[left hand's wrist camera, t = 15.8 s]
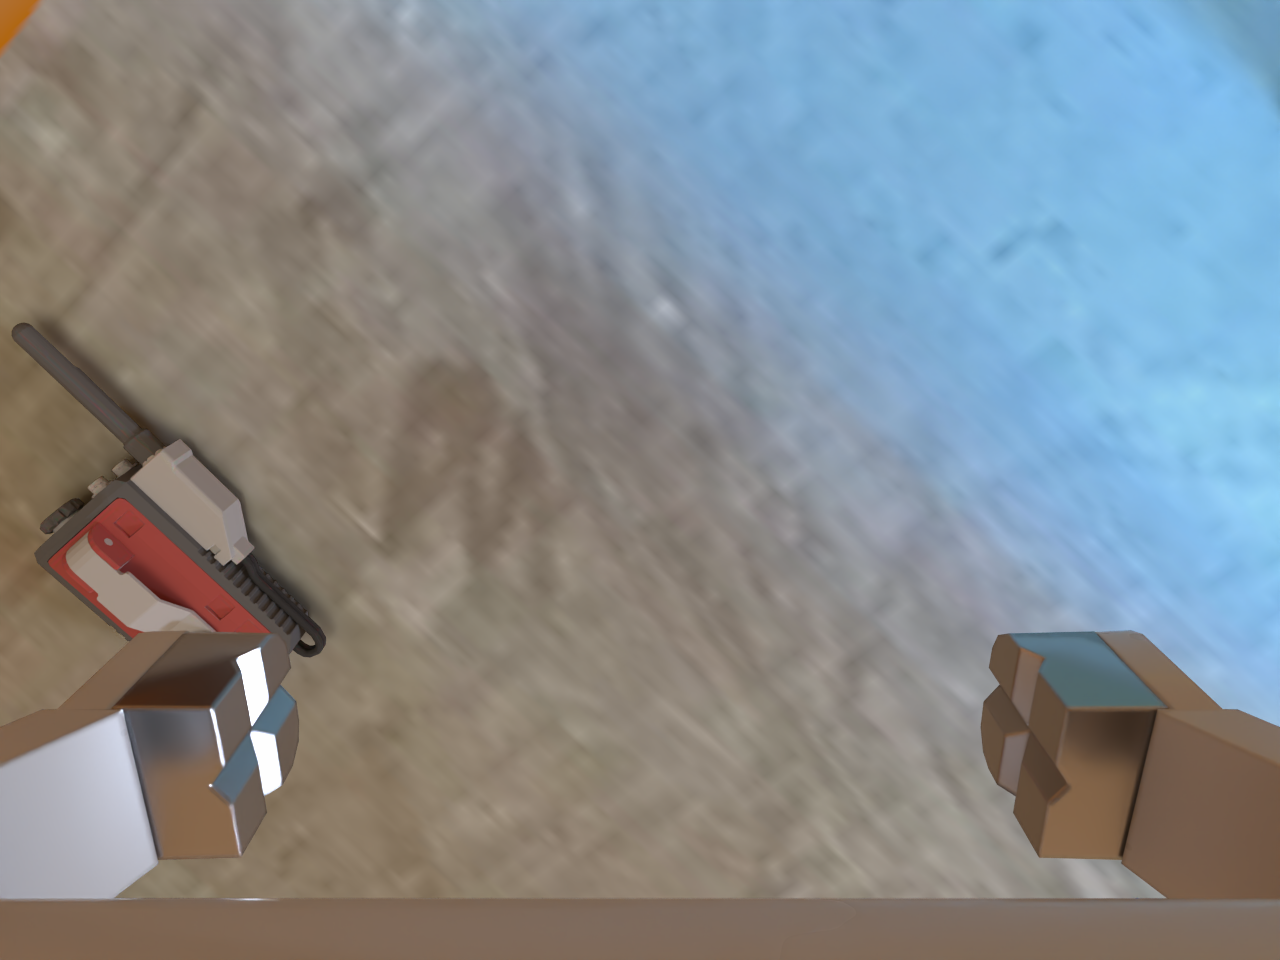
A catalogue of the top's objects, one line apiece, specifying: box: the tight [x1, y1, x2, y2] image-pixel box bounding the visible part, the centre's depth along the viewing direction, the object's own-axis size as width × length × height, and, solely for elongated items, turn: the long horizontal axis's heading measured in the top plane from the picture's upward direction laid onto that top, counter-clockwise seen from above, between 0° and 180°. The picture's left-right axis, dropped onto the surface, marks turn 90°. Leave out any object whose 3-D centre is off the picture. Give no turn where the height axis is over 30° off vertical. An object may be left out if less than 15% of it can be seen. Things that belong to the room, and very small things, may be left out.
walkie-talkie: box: [12, 323, 326, 657], centre depth 42 cm, size 9×4×20 cm
